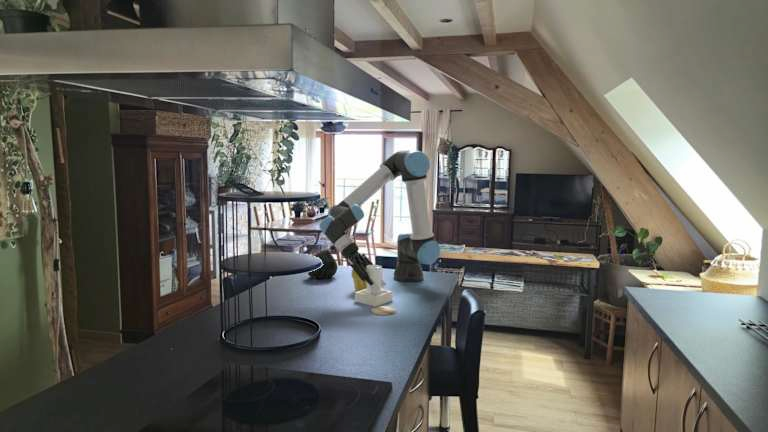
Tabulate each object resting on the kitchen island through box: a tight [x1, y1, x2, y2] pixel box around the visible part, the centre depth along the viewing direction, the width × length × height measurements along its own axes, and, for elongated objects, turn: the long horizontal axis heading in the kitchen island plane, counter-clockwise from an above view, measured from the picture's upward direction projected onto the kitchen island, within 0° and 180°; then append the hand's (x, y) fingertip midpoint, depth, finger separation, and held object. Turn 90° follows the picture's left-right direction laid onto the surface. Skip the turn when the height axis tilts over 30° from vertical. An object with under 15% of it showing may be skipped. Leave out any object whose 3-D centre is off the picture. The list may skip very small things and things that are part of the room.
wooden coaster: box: [370, 305, 397, 316], centre depth 201 cm, size 10×10×1 cm
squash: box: [307, 249, 338, 279], centre depth 255 cm, size 14×15×15 cm
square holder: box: [354, 288, 393, 307], centre depth 215 cm, size 11×11×4 cm
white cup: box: [366, 264, 383, 296], centre depth 214 cm, size 7×7×15 cm
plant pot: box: [351, 268, 367, 292], centre depth 231 cm, size 10×10×10 cm
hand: (381, 288), depth 213 cm, fingers closed on white cup, 7 cm apart
